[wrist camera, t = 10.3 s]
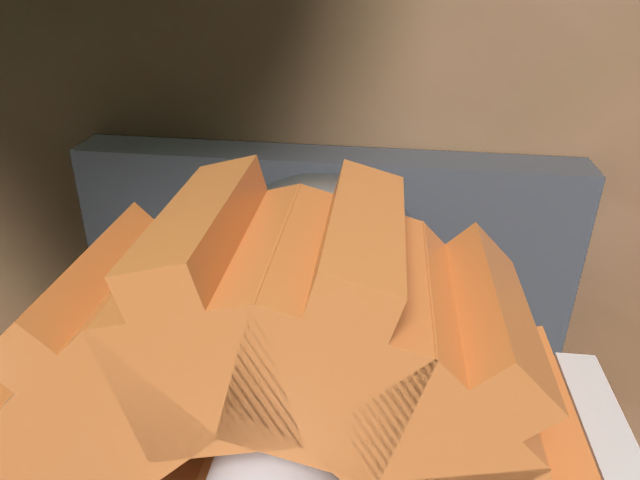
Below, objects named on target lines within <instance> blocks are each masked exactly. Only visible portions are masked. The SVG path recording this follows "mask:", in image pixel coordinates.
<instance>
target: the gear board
mask: <svg viewBox="0 0 640 480" xmlns="http://www.w3.org/2000/svg"><path fill="white" fill-rule="evenodd" d="M69 151H70V156H71V161H72V166H73V172H74V177H75V182H76V187H77V192H78V198H79V203H80V208H81V213H82V218H83V223H84V229H85V234H86V239H87V244H88V248H89V247H90V246H91V245H92V244H93V243H94V242H95V241H96V240H97V239H98V238H99V237H100V236H101V235H102V234H103V233H104V232H105V231H106V230H107V229H108V228H109V227H110V226H111V225H112V224H113V223H114V222H115V221H116V220H117V219H118V218H119V217H120V216H121V215H122V214H123V213H124V212H125V211H126V210H127V209H128V208H129V207H130V206H131V205H132V204H133V203H134V202H135V203H136V204H137V205H139V206H140V207H141V208H142V209H143V210H144V211H145V212H146V213H148V214H149V215H150V216H151V217H152V218H153V219H155V218H156V217H157V216H158V215H159V214H160V212H161V211H162V210H163V209H164V208H165V207H166V206H167V204H168V203H169V202H170V201H171V200H172V199H173V197H174V196H175V195H176V194H177V193H178V192H179V191H180V189H181V188H182V187H183V186H184V185H185V184H186V182H187V181H188V180H189V179H190V178H191V177H192V175H193V174H194V173H195V172H196V171H197V170H198V169H199V167H200V166H205V165H210V164H214V163H219V162H224V161H228V160H233V159H238V158H243V157H247V156H252V155H257V157H258V161H259V164H260V167H261V170H262V174H263V177H264V180H265V183H266V186H267V190H270V189H275V188H280V187H285V186H290V185H296V184H299V183H300V184H303V185H306V186H310V187H313V188H316V189H319V190H323V191H326V192H329V193H332V194H333V193H334V189H335V186H336V183H337V180H338V177H339V174H340V171H341V167H342V164H343V161H344V159H346V160H349V161H353V162H356V163H359V164H362V165H366V166H369V167H372V168H375V169H379V170H382V171H385V172H388V173H391V174H395V175H398V176H401V177H403V181H404V210H405V216H407V217H411V218H414V219H417V220H420V221H424V223H425V224H426V225H427V226H428V227H429V228H430V229H431V230H432V231H433V232H434V233H435V234H436V235H437V236H438V237H439V238H440V240H441V241H442V242H443V243H444V244H446V243H448V242H449V241H450V240H452V239H453V238H455V237H456V236H457V235H459V234H460V233H461V232H463V231H464V230H465V229H467V228H468V227H470V226H471V225H472V224H474V223H475V222H476V223H477V224H478V225H479V226H480V227H481V228H482V229H483V230H484V231H485V233H486V234H487V235H488V236H489V237H490V238H491V239H492V240H493V241H494V242H495V243H496V245H497V246H498V247H499V248H500V249H501V250H502V251H503V252H504V253H505V254H506V255H507V257H508V258H509V259H510V260H511V261H512V262H513V264H514V267H515V270H516V273H517V275H518V278H519V281H520V284H521V286H522V289H523V292H524V294H525V297H526V300H527V303H528V305H529V308H530V311H531V314H532V316H533V319H534V322H535V325H536V327H537V326H543V328H544V331H545V333H546V336H547V339H548V341H549V344H550V346H551V349H552V352H553V354H554V355H555V352H558V353H562V349H563V345H564V341H565V337H566V333H567V329H568V325H569V322H570V318H571V314H572V310H573V306H574V302H575V298H576V294H577V290H578V286H579V282H580V278H581V274H582V270H583V266H584V262H585V258H586V254H587V250H588V246H589V242H590V238H591V234H592V230H593V226H594V222H595V218H596V214H597V210H598V206H599V202H600V198H601V195H602V191H603V187H604V183H605V179H606V177H605V176H604V175H603V174H602V173H601V172H600V170H599V169H598V168H597V167H596V166H595V165H594V164H593V163H592V161H591V160H590V159H589V158H584V157H563V156H542V155H521V154H500V153H479V152H458V151H437V150H416V149H395V148H374V147H353V146H332V145H311V144H290V143H269V142H248V141H227V140H206V139H185V138H164V137H143V136H122V135H101V134H94V135H93V136H91V137H89V138H88V139H86V140H85V141H83V142H82V143H80V144H79V145H77V146H76V147H74V148H72V149H71V150H69ZM206 480H340V479H339V478H338V477H336V476H335V475H334V474H333V473H330V472H327V471H323V470H320V469H316V468H313V467H310V466H306V465H303V464H299V463H296V462H293V461H289V460H286V459H282V458H279V457H276V456H272V455H269V454H265V453H262V452H253V453H243V454H233V455H223V456H214V458H213V461H212V464H211V467H210V469H209V472H208V475H207V478H206Z"/></svg>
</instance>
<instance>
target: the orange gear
mask: <svg viewBox="0 0 640 480" xmlns="http://www.w3.org/2000/svg"><path fill="white" fill-rule="evenodd" d="M253 452H262V453H265V454H269V455H272V456H276V457H279V458H282V459H286V460H289V461H293V462H296V463H299V464H303V465H306V466H310V467H313V468H316V469H320V470H323V471H327V472H330V473H333V474H334V475H335V476H336V477H338V478H339V479H340V480H601V477H600V474H599V472H598V469H597V466H596V464H595V461H594V459H593V456H592V453H591V451H590V448H589V446H588V443H587V440H586V438H585V435H584V433H583V430H582V427H581V425H580V422H579V419H578V417H577V414H576V412H575V409H574V406H573V404H572V401H571V399H570V396H569V393H568V391H567V388H566V386H565V383H564V380H563V378H562V375H561V372H560V370H559V367H558V365H557V362H556V359H555V357H554V354H553V352H552V349H551V346H550V344H549V341H548V339H547V336H546V333H545V331H544V328H543V326H537V327H536V325H535V322H534V319H533V316H532V314H531V311H530V308H529V305H528V303H527V300H526V297H525V294H524V292H523V289H522V286H521V284H520V281H519V278H518V275H517V273H516V270H515V267H514V264H513V262H512V261H511V260H510V259H509V258H508V257H507V255H506V254H505V253H504V252H503V251H502V250H501V249H500V248H499V247H498V246H497V245H496V243H495V242H494V241H493V240H492V239H491V238H490V237H489V236H488V235H487V234H486V233H485V231H484V230H483V229H482V228H481V227H480V226H479V225H478V224H477V223H476V222H475V223H474V224H472V225H471V226H470V227H468V228H467V229H465V230H464V231H463V232H461V233H460V234H459V235H457V236H456V237H455V238H453V239H452V240H450V241H449V242H448V243H446V244H444V243H443V242H442V241H441V240H440V238H439V237H438V236H437V235H436V234H435V233H434V232H433V231H432V230H431V229H430V228H429V227H428V226H427V225H426V224H425V223H424V221H420V220H417V219H414V218H411V217H407V216H405V210H404V181H403V177H401V176H398V175H395V174H391V173H388V172H385V171H382V170H379V169H375V168H372V167H369V166H366V165H362V164H359V163H356V162H353V161H349V160H346V159H344V161H343V164H342V167H341V171H340V174H339V177H338V180H337V183H336V186H335V189H334V193H333V194H332V193H329V192H326V191H323V190H319V189H316V188H313V187H310V186H306V185H303V184H300V183H299V184H296V185H290V186H285V187H280V188H275V189H270V190H267V186H266V183H265V180H264V177H263V174H262V170H261V167H260V164H259V161H258V157H257V155H252V156H247V157H243V158H238V159H233V160H228V161H224V162H219V163H214V164H210V165H205V166H200V167H199V169H198V170H197V171H196V172H195V173H194V174H193V175H192V177H191V178H190V179H189V180H188V181H187V182H186V184H185V185H184V186H183V187H182V188H181V189H180V191H179V192H178V193H177V194H176V195H175V196H174V197H173V199H172V200H171V201H170V202H169V203H168V204H167V206H166V207H165V208H164V209H163V210H162V211H161V212H160V214H159V215H158V216H157V217H156V218H155V219H153V218H152V217H151V216H150V215H149V214H148V213H146V212H145V211H144V210H143V209H142V208H141V207H140V206H139V205H137V204H136V203H135V202H134V203H133V204H132V205H131V206H130V207H129V208H128V209H127V210H126V211H125V212H124V213H123V214H122V215H121V216H120V217H119V218H118V219H117V220H116V221H115V222H114V223H113V224H112V225H111V226H110V227H109V228H108V229H107V230H106V231H105V232H104V233H103V234H102V235H101V236H100V237H99V238H98V239H97V240H96V241H95V242H94V243H93V244H92V245H91V246H90V247H89V248H88V249H87V250H86V251H85V252H84V253H83V254H82V255H81V256H80V257H79V258H78V259H77V260H76V261H75V262H74V263H73V264H72V265H71V266H70V267H69V268H68V269H67V270H66V271H65V272H64V273H63V274H62V275H61V276H60V277H59V278H58V279H57V280H56V281H55V282H54V283H53V284H52V285H51V286H50V287H49V288H48V289H47V290H45V291H44V292H43V293H42V294H41V295H40V296H39V297H38V298H37V299H36V300H35V301H34V302H33V303H32V304H31V305H30V306H29V307H28V308H27V309H26V310H25V311H24V312H23V313H22V314H21V315H20V316H19V317H18V318H17V319H16V320H15V321H14V322H13V324H12V325H11V326H10V327H9V328H8V329H7V330H6V331H5V332H4V333H3V334H2V335H1V336H0V480H206V478H207V475H208V472H209V469H210V467H211V464H212V461H213V458H214V456H223V455H233V454H243V453H253Z"/></svg>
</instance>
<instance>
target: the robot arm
mask: <svg viewBox="0 0 640 480" xmlns="http://www.w3.org/2000/svg"><path fill="white" fill-rule="evenodd" d="M554 357H555V359H556V362H557V365H558V367H559V370H560V372H561V375H562V378H563V380H564V383H565V386H566V388H567V391H568V393H569V396H570V399H571V401H572V404H573V406H574V409H575V412H576V414H577V417H578V419H579V422H580V425H581V427H582V430H583V433H584V435H585V438H586V440H587V443H588V446H589V448H590V451H591V453H592V456H593V459H594V461H595V464H596V466H597V469H598V472H599V474H600V477H601V480H640V448H639V446H638V444H637V441H636V439H635V437H634V435H633V433H632V431H631V429H630V427H629V425H628V423H627V421H626V418H625V416H624V414H623V412H622V410H621V408H620V406H619V404H618V402H617V400H616V398H615V396H614V393H613V391H612V389H611V387H610V385H609V383H608V381H607V379H606V377H605V375H604V373H603V370H602V368H601V366H600V364H599V362H598V360H597V358H596V356H595V355H583V354H570V353H558V352H555V355H554Z"/></svg>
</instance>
